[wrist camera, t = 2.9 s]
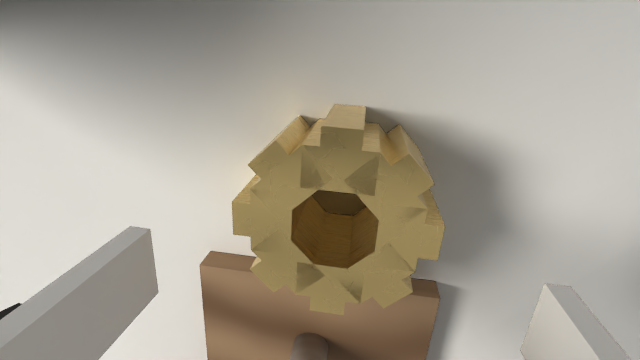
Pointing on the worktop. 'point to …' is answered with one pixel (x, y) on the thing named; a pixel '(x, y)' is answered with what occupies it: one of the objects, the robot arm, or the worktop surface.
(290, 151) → the brass gear
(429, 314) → the gear board
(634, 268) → the worktop surface
